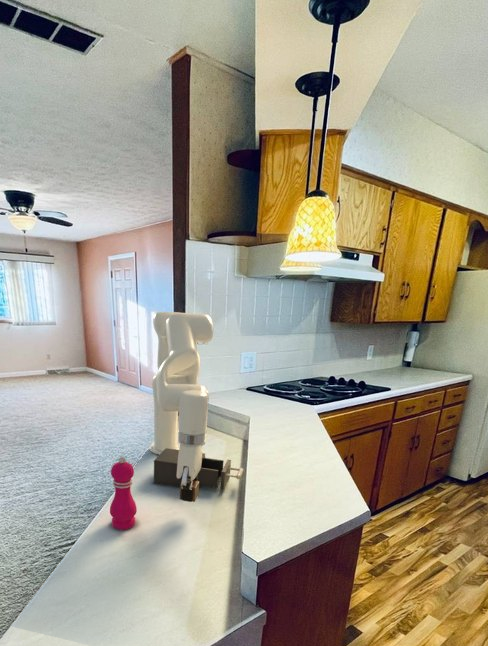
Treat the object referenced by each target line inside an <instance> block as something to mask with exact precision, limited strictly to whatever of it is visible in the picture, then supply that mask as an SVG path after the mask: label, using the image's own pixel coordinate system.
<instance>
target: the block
mask: <svg viewBox="0 0 488 646" xmlns="http://www.w3.org/2000/svg"><path fill="white" fill-rule="evenodd" d="M187 483H189V485H190V481H187ZM181 487H182V485H180V488H179V500H180V501H182V500H181V489H182V488H181ZM192 489H193V500H192V502H191V503H195V502H196V500H197V499H198V497H199V496H200V486H199V481H194V480H193V483H192Z"/></svg>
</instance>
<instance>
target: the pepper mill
mask: <svg viewBox="0 0 488 646" xmlns="http://www.w3.org/2000/svg"><path fill="white" fill-rule="evenodd" d="M110 475H111V477H112V482H113V483H112V485H113V487H114V497H113V499H112V502H111V503H110V507H109V514H110V516H111V517H112V518H111V526H112V527H113V528H114V529H116V530H121V531H123V530H129V529H131V528H134V527H135V525H136V517H135V516H136V514H137V511H138V510H137V509H138V508H137V504H136V502H135V500H134V497H133V495H132V491H131V488H132V485H133V477H134V475H135V468H134V466H133V464H131V463H130V462H128V461H127V460H126V457H124V456H120V457H119V458H118V461H117V462H115V463H114V464H112V466H111V469H110Z"/></svg>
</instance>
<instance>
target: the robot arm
mask: <svg viewBox="0 0 488 646" xmlns="http://www.w3.org/2000/svg"><path fill="white" fill-rule="evenodd" d="M152 325H153V328H154V331H155V333H156V335H157V341H158V344H157V364H156V365H157V370H158V371H157V374H155V375H154V376H153V377H152V380H151V381H152V382H151V389H152V394H153V444H151V445H150V446H149V450H150V452H151V453H153V454H155V455H157V456H159V455H160V454H161V453H162V452H163V451H164V450H165V449H166V448H169V449H176V450H179V454H178V464H177V478H178V479H179V478H181V476H182V475H183V476H182V481H181V485H182V487H181V488H182V489H181V500H180V501H183V502H187V503H188V502H189V503H193V502H192V500H193V489H192V483H193V480H194V481H196V480H198V473H199V471H200V469H201V464H202V453H203V446H205V444H207V443H206V442H207V426H208V413H209V412H208V410H209V401H210V398H209V397H210V395H209V394H210V393H209V391H208V390H207V388H206V387H205V386H204V385H203V384H198V383H199V376H200V369H201V358H200V354H199V353H198V347H197V344H208V343H210V342H212V340H213V337H214V324H213V320H212V318H211V317H210V315H208V314H204V313H191V312H179V311H177V312H176V311H157V312H156V313H154V315H153V318H152ZM178 444H179V445H178ZM187 481H190V485H189V483H187Z"/></svg>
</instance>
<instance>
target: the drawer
mask: <svg viewBox="0 0 488 646" xmlns="http://www.w3.org/2000/svg"><path fill="white" fill-rule="evenodd" d="M224 462H225V461H224V460H223V459H217V458H209V457H205V458H203V459H202V464H201V469H200V471H199V473H198V480H196V481H199V487H205V488H206V487H207V488H214V489H217V488H218V487H219V491H220V492H224V491H225V489H226V487H227V484H228V483H229V480H230V478H236V480H240V479H241V477H242V475H243V472H244V467H240V468H237V467H231V465H232V460H231V459H227V461H226V462H225V464H224ZM231 471H236V472H237V471H238V472H237V474H231ZM219 484H220V486H219Z"/></svg>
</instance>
